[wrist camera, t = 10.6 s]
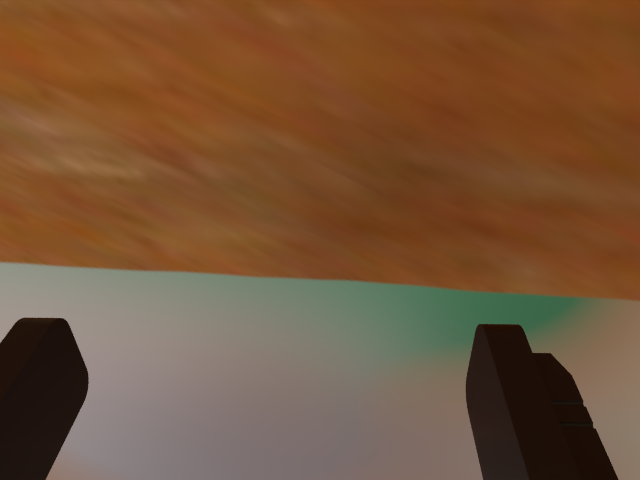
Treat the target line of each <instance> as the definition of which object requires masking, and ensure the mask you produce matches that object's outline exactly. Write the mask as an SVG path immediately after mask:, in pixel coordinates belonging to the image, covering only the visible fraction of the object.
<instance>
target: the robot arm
mask: <svg viewBox="0 0 640 480" xmlns="http://www.w3.org/2000/svg"><path fill="white" fill-rule="evenodd" d="M87 390H88V371H87V368H86V366H85V363H84V361H83V358H82V356H81V353H80V351H79V348H78V346H77V344H76V341H75V338H74V336H73V333H72V331H71V328H70V326H69V324H68V322H67V321H66V320H64V319H63V318H22V319H20V320H18V321H17V322H16V323H15V325H14V326H13V327H12V329H11V330H10V331H9V332H8V334H7V335H6V337H5V338H4V339H3V340H2V342H1V343H0V480H46V477H47V476H48V474H49V471H50V469H51V467H52V465H53V463H54V461H55V459H56V457H57V455H58V453H59V451H60V449H61V447H62V445H63V443H64V441H65V439H66V437H67V435H68V433H69V431H70V429H71V427H72V425H73V423H74V421H75V419H76V417H77V415H78V413H79V411H80V409H81V407H82V405H83V403H84V401H85V398H86V395H87ZM466 401H467V408H468V414H469V418H470V422H471V427H472V431H473V436H474V440H475V445H476V449H477V453H478V458H479V463H480V466H481V471H482V476H483V480H618V478H617V475H616V473H615V471H614V469H613V466H612V464H611V462H610V460H609V457H608V456H607V453H606V451H605V449H604V446H603V444H602V442H601V440H600V438H599V435H598V433H597V431H596V429H594V428H593V422H592V420H591V417H590V415H589V413H588V411H587V408H586V407H584V405H583V399H582V397H581V395H580V393H579V390H578V388H577V386H576V384H575V381H574V379H573V377H572V375H571V374H570V373H569V372H568V371H567V370H566V369H565V368H564V367H563V366H562V365H561V364H560V363H559V362H558V361H557V360H556V359H555V358H554V357H553V355H552V354H551V353H532V351H531V348H530V345H529V343H528V340H527V338H526V335H525V332H524V330H523V328H522V327H521V326H520V325H507V324H506V325H505V324H479V325H478V326H477V328H476V332H475V337H474V342H473V347H472V352H471V357H470V362H469V367H468V372H467V378H466Z"/></svg>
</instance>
